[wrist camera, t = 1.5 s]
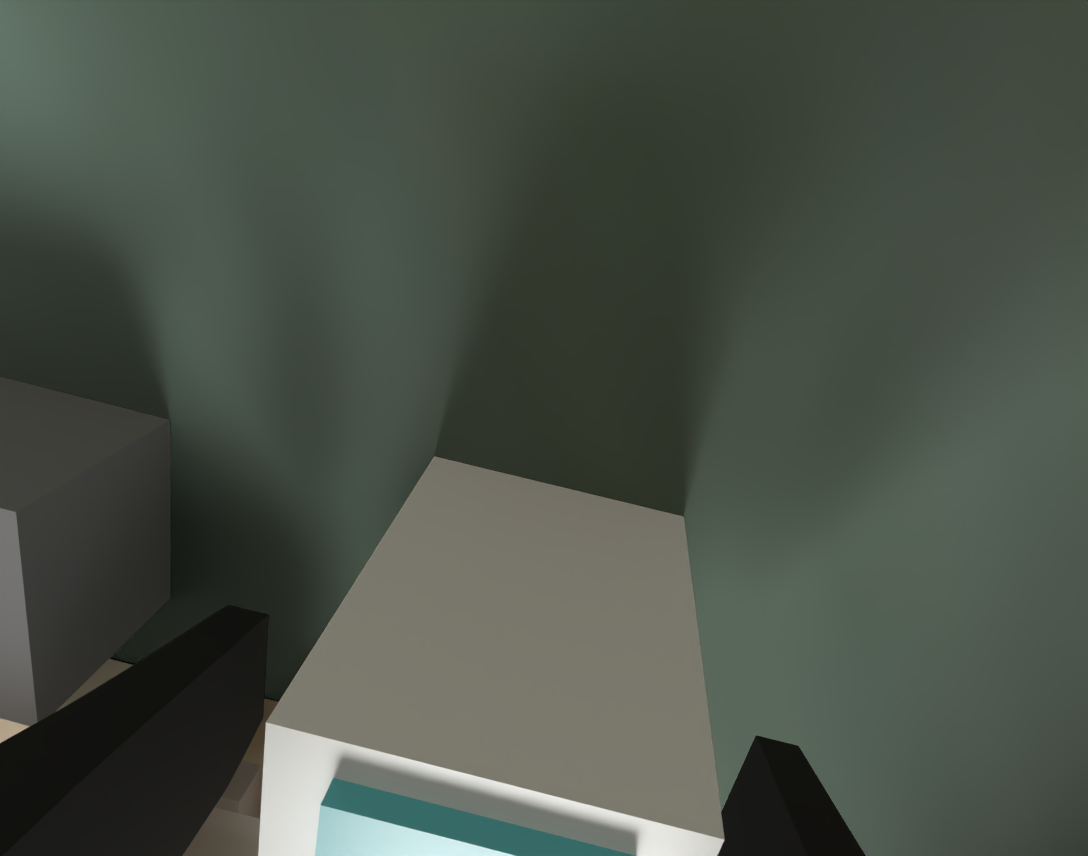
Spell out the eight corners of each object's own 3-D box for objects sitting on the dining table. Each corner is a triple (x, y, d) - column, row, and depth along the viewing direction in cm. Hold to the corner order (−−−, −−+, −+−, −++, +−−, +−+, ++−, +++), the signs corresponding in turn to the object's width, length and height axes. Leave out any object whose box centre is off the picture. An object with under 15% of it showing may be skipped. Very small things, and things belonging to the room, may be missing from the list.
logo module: (683, 515, 12) (728, 871, 6) (613, 726, 14) (597, 1145, 8) (434, 455, 12) (249, 747, 6) (400, 673, 14) (235, 1047, 8)
